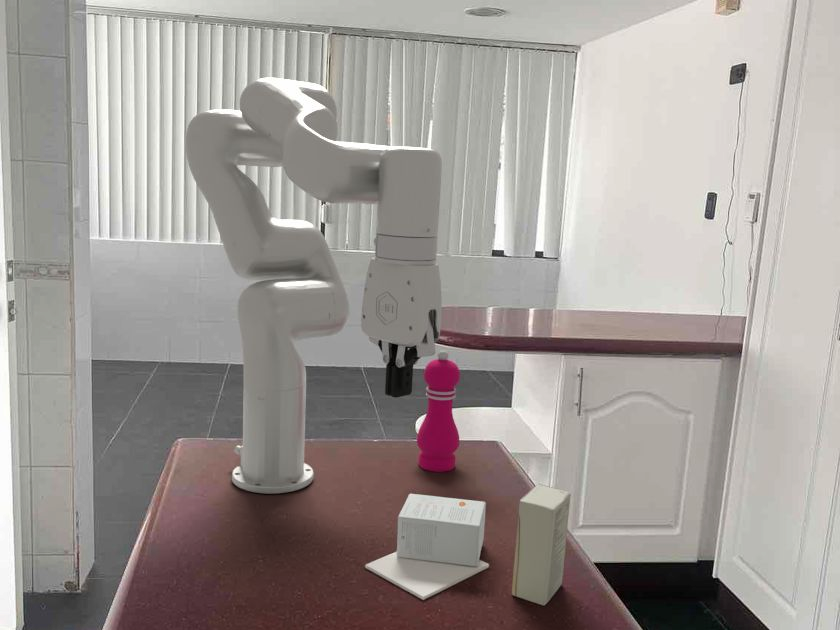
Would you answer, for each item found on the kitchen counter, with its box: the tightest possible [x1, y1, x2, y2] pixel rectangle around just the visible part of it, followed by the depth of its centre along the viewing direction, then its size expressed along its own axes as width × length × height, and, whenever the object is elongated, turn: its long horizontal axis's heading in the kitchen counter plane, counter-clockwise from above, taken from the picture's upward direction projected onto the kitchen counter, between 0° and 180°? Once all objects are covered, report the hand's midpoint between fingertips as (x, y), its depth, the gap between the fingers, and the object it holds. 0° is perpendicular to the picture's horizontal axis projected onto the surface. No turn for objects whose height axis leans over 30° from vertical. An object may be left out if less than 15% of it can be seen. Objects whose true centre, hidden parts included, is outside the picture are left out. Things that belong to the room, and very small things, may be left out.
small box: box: [396, 493, 487, 567], centre depth 103 cm, size 8×6×10 cm
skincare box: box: [511, 483, 572, 606], centre depth 94 cm, size 6×4×12 cm
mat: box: [364, 551, 490, 601], centre depth 99 cm, size 10×12×1 cm
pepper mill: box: [416, 349, 461, 473], centre depth 132 cm, size 7×7×20 cm
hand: (398, 394), depth 100 cm, fingers closed
